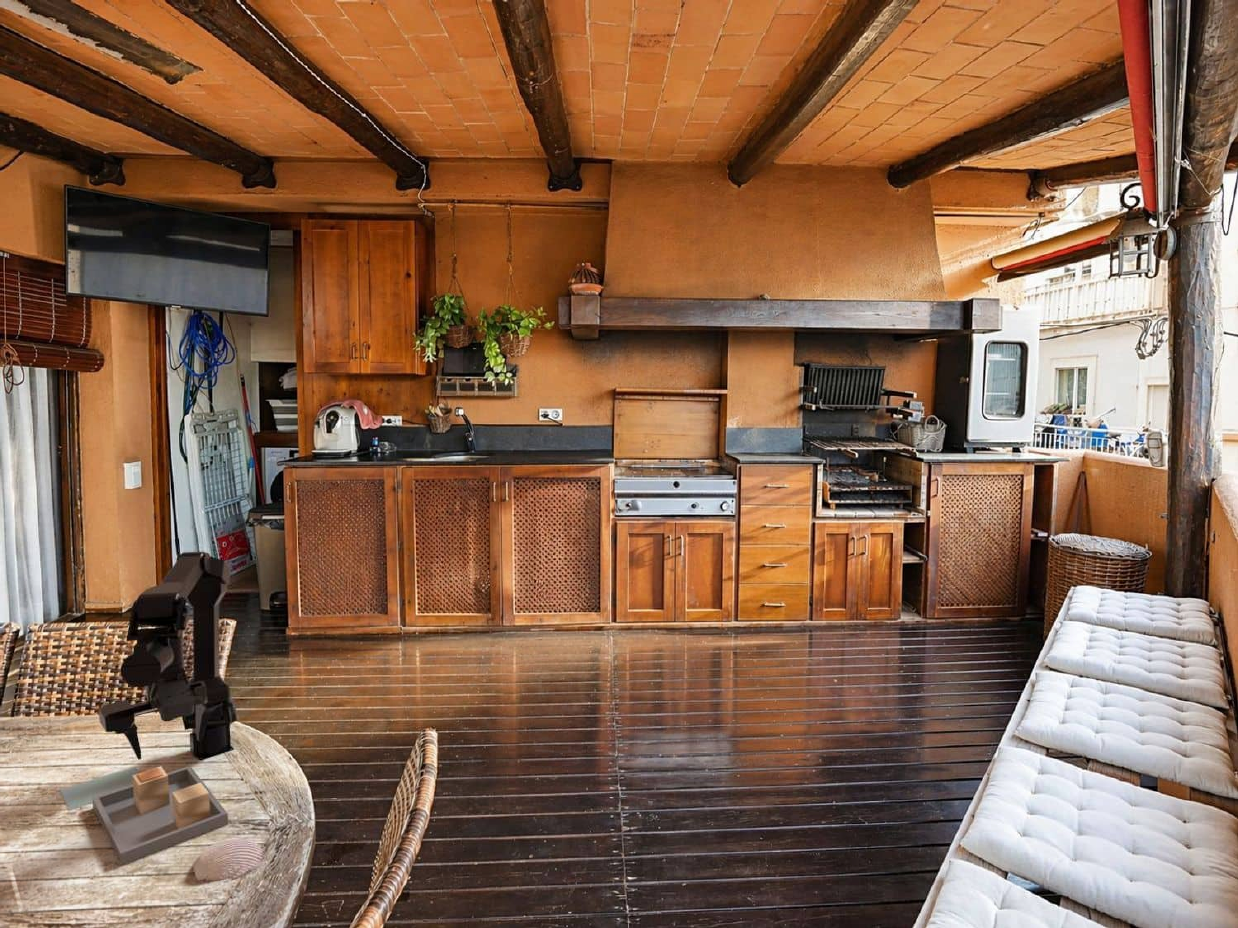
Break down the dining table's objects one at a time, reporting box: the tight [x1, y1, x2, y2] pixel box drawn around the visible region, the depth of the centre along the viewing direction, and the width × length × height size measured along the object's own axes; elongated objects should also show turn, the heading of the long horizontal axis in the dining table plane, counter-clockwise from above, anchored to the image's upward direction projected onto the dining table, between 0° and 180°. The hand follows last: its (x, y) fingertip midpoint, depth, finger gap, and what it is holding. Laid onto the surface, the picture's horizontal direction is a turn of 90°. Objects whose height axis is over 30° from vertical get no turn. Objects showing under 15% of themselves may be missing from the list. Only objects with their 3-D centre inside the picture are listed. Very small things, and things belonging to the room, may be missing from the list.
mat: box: [59, 766, 140, 811], centre depth 138 cm, size 12×9×1 cm
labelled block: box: [132, 765, 170, 814], centre depth 132 cm, size 4×4×6 cm
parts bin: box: [92, 765, 229, 867], centre depth 129 cm, size 16×22×2 cm
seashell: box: [192, 837, 263, 883], centre depth 117 cm, size 10×6×10 cm
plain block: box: [172, 783, 210, 829], centre depth 127 cm, size 4×4×6 cm
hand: (169, 749), depth 128 cm, fingers open, 9 cm apart
